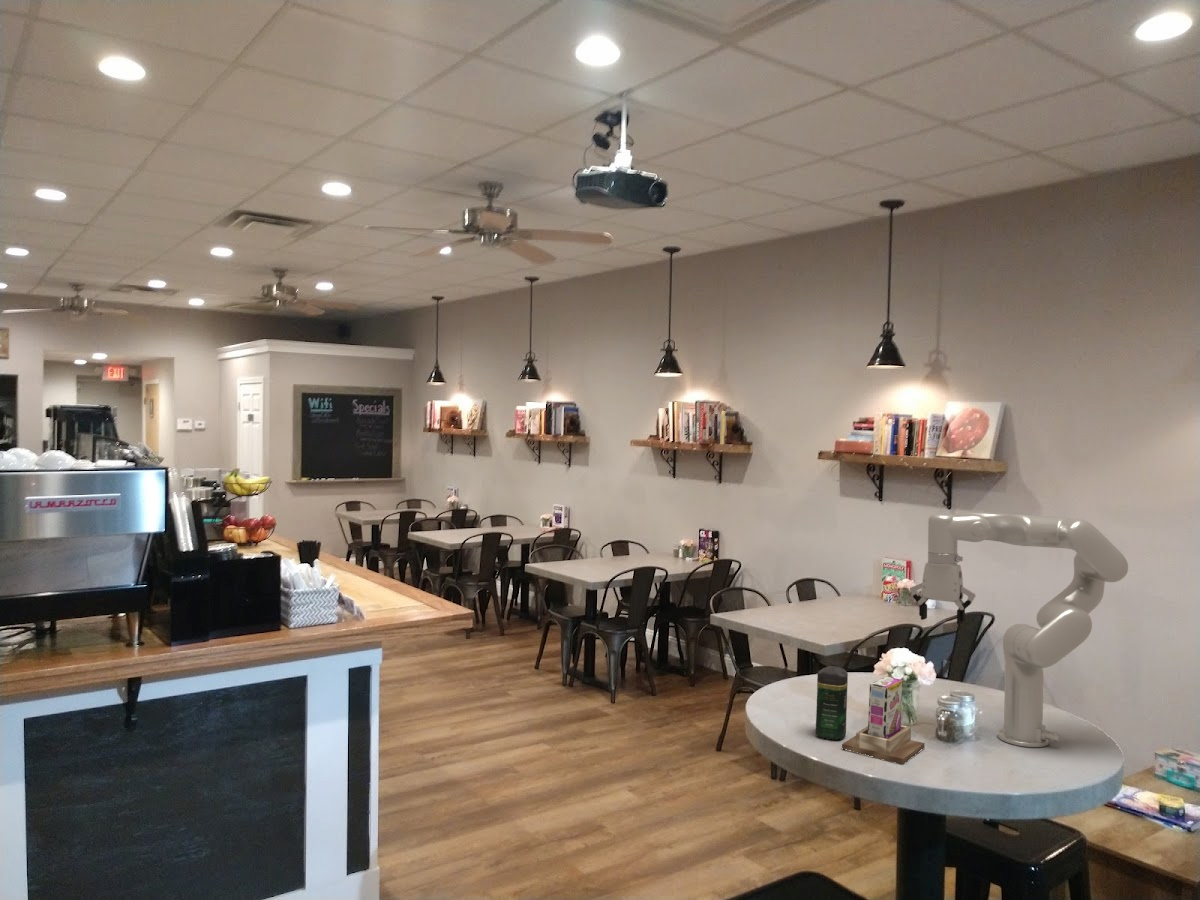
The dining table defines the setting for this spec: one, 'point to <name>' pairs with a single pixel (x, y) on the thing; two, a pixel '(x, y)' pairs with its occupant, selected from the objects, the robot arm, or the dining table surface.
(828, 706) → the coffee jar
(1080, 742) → the dining table surface
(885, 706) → the candy bar box
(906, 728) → the stand
